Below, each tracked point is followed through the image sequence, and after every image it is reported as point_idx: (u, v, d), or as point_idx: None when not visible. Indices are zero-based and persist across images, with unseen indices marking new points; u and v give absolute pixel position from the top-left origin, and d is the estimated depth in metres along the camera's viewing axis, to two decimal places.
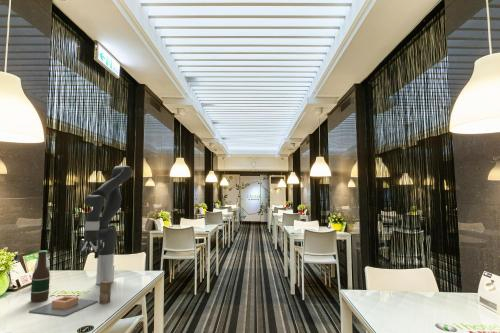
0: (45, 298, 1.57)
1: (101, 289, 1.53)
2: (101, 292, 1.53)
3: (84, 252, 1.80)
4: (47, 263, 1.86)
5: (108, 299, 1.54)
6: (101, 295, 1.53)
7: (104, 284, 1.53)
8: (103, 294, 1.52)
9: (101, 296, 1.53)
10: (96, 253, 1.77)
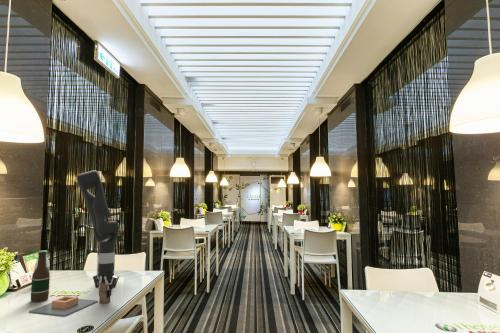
0: (45, 298, 1.57)
1: (101, 289, 1.53)
2: (101, 292, 1.53)
3: None
4: (47, 263, 1.86)
5: (108, 299, 1.54)
6: (101, 295, 1.53)
7: (104, 284, 1.53)
8: (103, 294, 1.52)
9: (101, 296, 1.53)
10: (108, 292, 1.53)
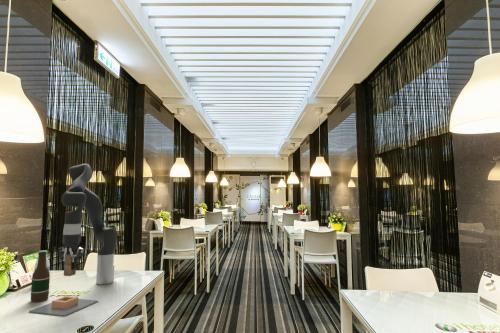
0: (45, 298, 1.57)
1: (65, 261, 1.49)
2: (65, 264, 1.48)
3: None
4: (47, 263, 1.86)
5: (73, 271, 1.49)
6: (66, 267, 1.48)
7: (69, 256, 1.48)
8: (67, 266, 1.48)
9: (65, 268, 1.48)
10: (73, 264, 1.49)
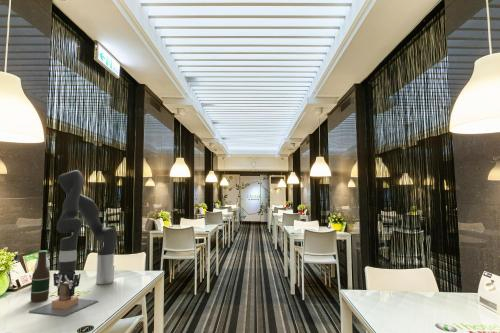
0: (45, 298, 1.57)
1: (60, 292, 1.47)
2: (60, 294, 1.47)
3: None
4: (47, 263, 1.86)
5: None
6: (60, 298, 1.47)
7: (64, 286, 1.47)
8: (62, 297, 1.46)
9: (60, 298, 1.47)
10: (71, 290, 1.47)
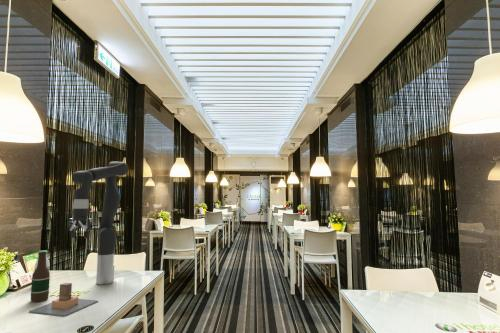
0: (45, 298, 1.57)
1: (60, 292, 1.47)
2: (60, 294, 1.47)
3: (73, 232, 1.68)
4: (47, 263, 1.86)
5: None
6: (60, 298, 1.47)
7: (64, 286, 1.47)
8: (62, 297, 1.46)
9: (60, 298, 1.47)
10: (86, 233, 1.66)
